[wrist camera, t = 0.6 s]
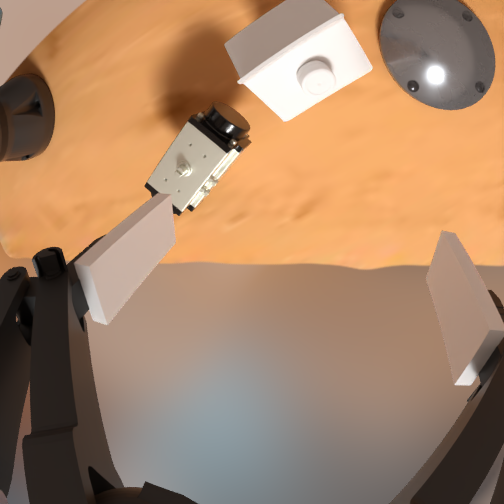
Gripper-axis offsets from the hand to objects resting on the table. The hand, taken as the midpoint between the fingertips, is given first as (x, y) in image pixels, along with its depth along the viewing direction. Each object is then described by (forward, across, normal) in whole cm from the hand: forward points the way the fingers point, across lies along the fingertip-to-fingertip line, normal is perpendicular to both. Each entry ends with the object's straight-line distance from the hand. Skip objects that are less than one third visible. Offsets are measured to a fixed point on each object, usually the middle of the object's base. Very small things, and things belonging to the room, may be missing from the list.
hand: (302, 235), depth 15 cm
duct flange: (+24, +12, +13) cm, 30 cm away
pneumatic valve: (+24, -11, -2) cm, 26 cm away
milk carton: (+24, -2, +9) cm, 25 cm away
